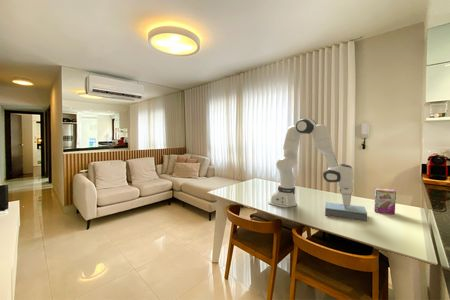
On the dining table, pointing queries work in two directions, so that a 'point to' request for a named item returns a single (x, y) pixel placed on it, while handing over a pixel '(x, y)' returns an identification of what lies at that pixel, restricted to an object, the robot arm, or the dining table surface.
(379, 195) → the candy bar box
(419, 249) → the dining table surface
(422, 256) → the dining table surface
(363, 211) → the panel
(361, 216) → the cable duct
